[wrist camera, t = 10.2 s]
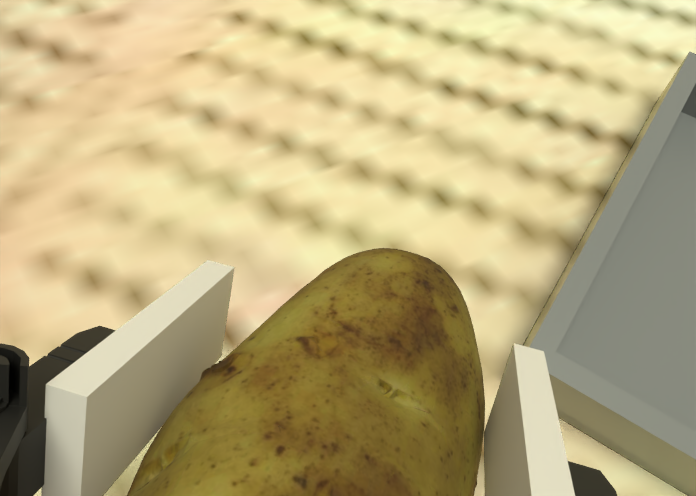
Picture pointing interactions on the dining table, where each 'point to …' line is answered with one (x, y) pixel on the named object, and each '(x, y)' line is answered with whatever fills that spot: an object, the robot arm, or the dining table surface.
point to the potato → (336, 395)
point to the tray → (635, 302)
